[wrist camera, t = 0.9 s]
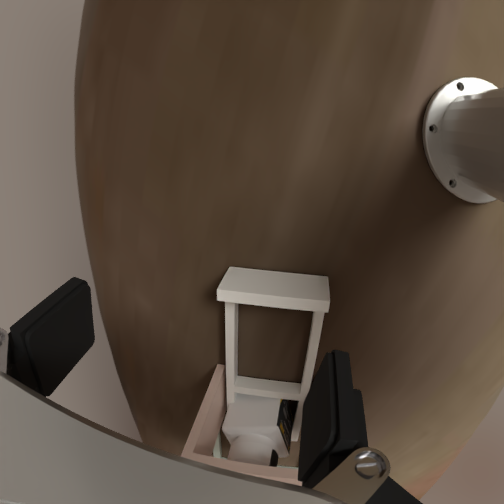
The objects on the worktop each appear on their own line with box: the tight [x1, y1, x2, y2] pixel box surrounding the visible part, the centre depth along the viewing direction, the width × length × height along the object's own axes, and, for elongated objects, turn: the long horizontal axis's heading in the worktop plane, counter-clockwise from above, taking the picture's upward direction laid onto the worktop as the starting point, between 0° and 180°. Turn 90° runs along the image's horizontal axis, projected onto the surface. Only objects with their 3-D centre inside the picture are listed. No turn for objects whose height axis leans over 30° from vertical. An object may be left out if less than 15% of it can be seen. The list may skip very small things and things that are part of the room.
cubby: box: [181, 364, 302, 486], centre depth 33 cm, size 14×9×15 cm, turn 88°
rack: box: [217, 267, 330, 441], centre depth 36 cm, size 10×26×5 cm, turn 178°
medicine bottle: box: [222, 393, 293, 467], centre depth 36 cm, size 7×7×12 cm
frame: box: [213, 430, 298, 469], centre depth 45 cm, size 16×13×1 cm
